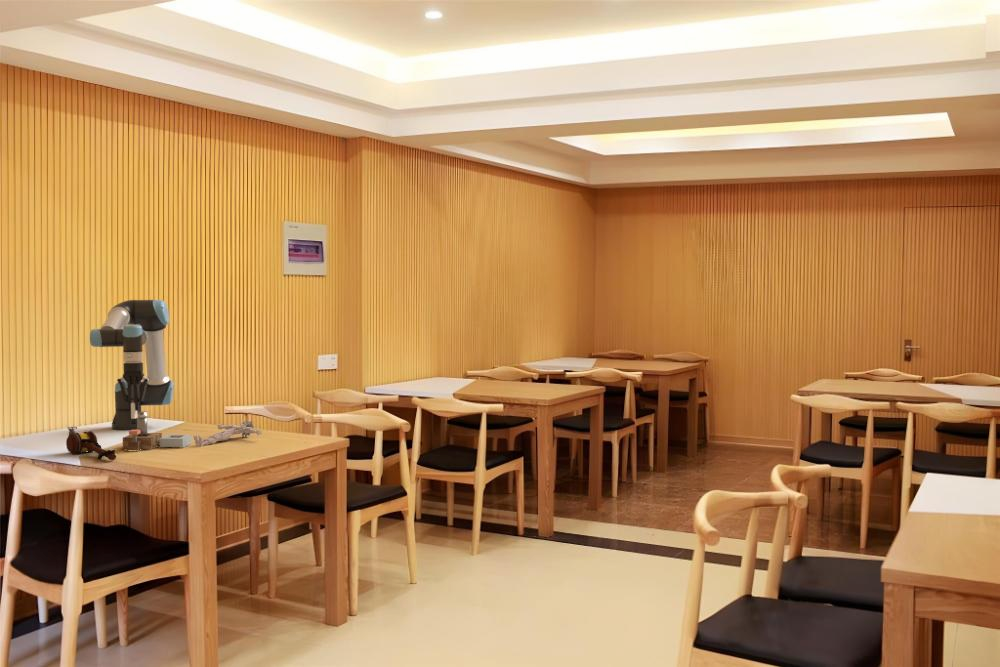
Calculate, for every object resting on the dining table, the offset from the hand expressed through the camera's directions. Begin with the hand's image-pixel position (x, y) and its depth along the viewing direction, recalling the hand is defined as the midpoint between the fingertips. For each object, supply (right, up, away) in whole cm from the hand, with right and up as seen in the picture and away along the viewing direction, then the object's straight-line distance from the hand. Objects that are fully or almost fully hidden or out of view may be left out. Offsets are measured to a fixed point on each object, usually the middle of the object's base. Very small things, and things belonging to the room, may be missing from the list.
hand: (134, 418), depth 373 cm
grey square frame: (+13, -13, +12) cm, 22 cm away
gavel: (-12, -15, -11) cm, 22 cm away
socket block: (0, -13, +7) cm, 15 cm away
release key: (0, -11, +1) cm, 11 cm away
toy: (+31, -13, +24) cm, 41 cm away
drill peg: (0, -13, +9) cm, 16 cm away
